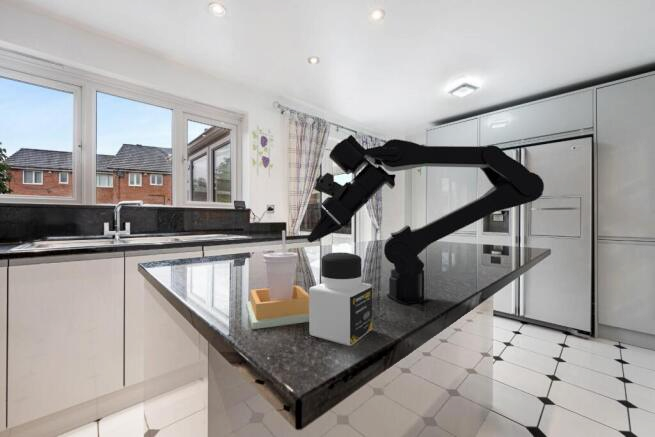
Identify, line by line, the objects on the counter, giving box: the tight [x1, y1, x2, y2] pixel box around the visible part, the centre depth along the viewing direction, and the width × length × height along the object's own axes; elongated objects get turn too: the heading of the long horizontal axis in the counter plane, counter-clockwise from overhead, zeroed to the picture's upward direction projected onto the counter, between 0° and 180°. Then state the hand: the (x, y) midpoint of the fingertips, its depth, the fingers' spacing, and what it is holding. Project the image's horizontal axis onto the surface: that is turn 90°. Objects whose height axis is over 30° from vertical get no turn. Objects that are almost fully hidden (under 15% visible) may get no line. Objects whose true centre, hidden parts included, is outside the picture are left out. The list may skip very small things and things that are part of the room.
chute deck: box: [245, 285, 309, 330], centre depth 53 cm, size 20×12×4 cm, turn 111°
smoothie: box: [262, 230, 299, 301], centre depth 52 cm, size 6×6×14 cm
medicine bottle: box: [308, 251, 373, 347], centre depth 43 cm, size 7×7×12 cm
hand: (311, 239), depth 63 cm, fingers open, 9 cm apart
